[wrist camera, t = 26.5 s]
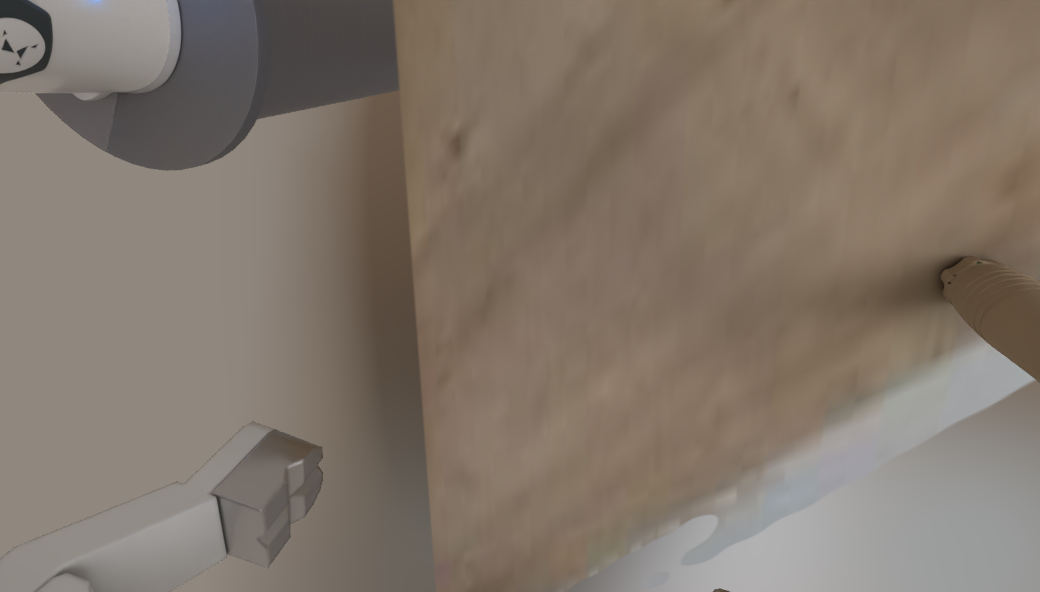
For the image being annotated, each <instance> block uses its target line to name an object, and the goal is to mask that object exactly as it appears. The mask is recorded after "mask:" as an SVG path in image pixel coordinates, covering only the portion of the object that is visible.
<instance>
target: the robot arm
mask: <svg viewBox="0 0 1040 592" xmlns="http://www.w3.org/2000/svg"><path fill="white" fill-rule="evenodd" d="M180 45H181V20H180V13H179V7H178V2H177V0H0V93H73V94H74V95H75V96H76V97H77V98H79V99H81V100H94V101H96V100H101V99H103V98H105V97H107V96H109V95H110V94H112V93H114V92H121V93H133V94H139V93H146V92H150V91H152V90H155V89H157V88H158V87H160V86H161V85H162V84H163V83H164V82H165V81H166V80H167V79H168V78H169V77H170V75H171V74H172V72H173V70H174V68H175V66H176V63H177V60H178V57H179V52H180ZM322 458H323V452H322V447H321V446H318V445H315V444H313V443H310V442H307V441H304V440H302V439H299V438H296V437H294V436H291V435H288V434H286V433H283V432H280V431H278V430H276V429H273V428H270V427H267V426H264V425H261V424H259V423H256V422H251V423H249V424H248V425H245V426H244V427H243V428H241V429H240V430H239V431H238V432H237V433H236V434H235V435H234V436H233V437H232V438H231V439H230V440H229V441H228V442H227V443H226V444H225V445H224V446H223V447H222V448H221V449H219V450H218V452H216V453H215V454H214V455H213V456H212V457H211V458H210V459H209V460H208V461H207V462H206V463H205V464H204V465H203V466H202V467H201V468H200V469H199V470H198V471H197V472H196V473H195V474H194V475H193V476H192V477H190V478H189V479H188V480H187V481H186V482H185V483H184V484H183V483H179V482H175V483H172V484H170V485H167V486H165V487H162V488H160V489H157V490H155V491H152V492H150V493H147V494H145V495H142V496H140V497H137V498H135V499H132V500H130V501H128V502H125V503H122V504H120V505H117V506H115V507H113V508H110V509H108V510H105V511H103V512H100V513H98V514H95V515H93V516H90V517H88V518H85V519H83V520H80V521H78V522H75V523H73V524H70V525H68V526H66V527H63V528H60V529H58V530H55V531H53V532H51V533H48V534H46V535H43V536H41V537H38V538H36V539H33V540H31V541H28V542H26V543H23V544H21V545H18V546H16V547H13V548H12V549H11V550H10V551H8V552H7V553H6V554H5V555H4V556H2V557H1V558H0V592H171V591H173V590H175V589H176V588H178V587H179V586H181V585H183V584H184V583H186V582H188V581H189V580H191V579H192V578H194V577H195V576H197V575H199V574H200V573H202V572H204V571H205V570H207V569H209V568H210V567H212V566H214V565H215V564H217V563H218V562H220V561H222V560H223V559H225V558H226V557H227V554H228V555H231V556H234V557H237V558H240V559H243V560H245V561H249V562H251V563H254V564H257V565H260V566H262V567H265V568H269V566H270V564H271V563H272V562H273V561H274V559H275V558H276V557H277V555H278V554H279V552H280V551H281V550H282V548H283V547H284V545H285V544H286V542H287V541H288V540H289V538H290V524H292V523H294V522H296V521H298V520H300V519H302V518H304V517H305V516H306V514H307V513H308V511H309V510H310V509H311V507H312V506H313V504H314V502H315V500H316V498H317V496H318V494H319V492H320V489H321V485H322V481H323V472H322V470H321V469H320V468H319V466H318V464H319V462H320V461H321V460H322ZM713 592H729V591H726V590H723V589H716V590H714V591H713Z"/></svg>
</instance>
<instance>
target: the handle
mask: <svg viewBox="0 0 1040 592" xmlns="http://www.w3.org/2000/svg"><path fill="white" fill-rule="evenodd" d="M940 278H941V280H942V281H943V282H944V289H943V295H944V296H945V298H946V299H947V300H948V301H949V302H950V303H951V304H952V305H953V306H954V307H955V309H956V310H957V312H958V313H959V314H960V316H961V317H962V318H963V319H964V320H965V321H966V322H967V323H968V325H969V326H970V327H971V328H972V329H973V330H974V331H975V332H976V333H977V334H978V335H980V336H981V337H982V338H983V339H984V340H985V341H986V342H988V343H989V344H990V345H991V346H992V347H994V348H995V349H996V350H998V351H999V352H1000V353H1002V354H1003V355H1004V356H1006V357H1007V358H1008V359H1010V360H1011V361H1012V362H1014V363H1015V364H1016V365H1018V366H1019V367H1020V368H1022V369H1023V370H1024V371H1026V372H1027V373H1028V374H1029V375H1031V376H1032V377H1033V378H1035V379H1036V380H1037V381H1038V382H1040V282H1039V281H1037V280H1035V279H1033V278H1031V277H1029V276H1027V275H1025V274H1023V273H1020V272H1018V271H1016V270H1013V269H1011V268H1008V267H1006V266H1005V265H1003V264H1001V263H999V262H997V261H994V260H990V259H989V260H980V259H978V258H976V257H973V256H970V257H965V258H963V259H962V260H961V261H960V262H959V263H958V264H956V265H955V266H953V267H951V268H949V269H945V270H944V271H943V273H942V274H941V277H940Z"/></svg>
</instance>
